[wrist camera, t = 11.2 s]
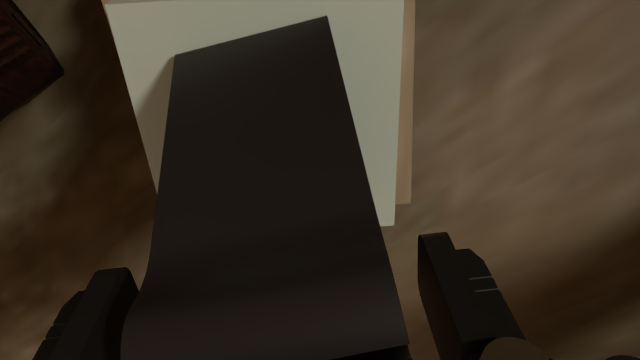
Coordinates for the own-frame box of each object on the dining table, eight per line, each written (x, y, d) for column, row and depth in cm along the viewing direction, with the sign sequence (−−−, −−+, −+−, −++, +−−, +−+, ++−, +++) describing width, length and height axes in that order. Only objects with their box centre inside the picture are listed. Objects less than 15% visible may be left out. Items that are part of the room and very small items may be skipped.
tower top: (385, -28, 20) (404, -14, 17) (380, 182, 26) (393, 225, 23) (136, -14, 20) (104, 4, 17) (186, 196, 26) (170, 241, 22)
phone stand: (369, 204, 22) (435, 470, 12) (248, 231, 22) (209, 509, 12) (328, 13, 17) (378, 174, 7) (176, 51, 18) (17, 254, 8)
